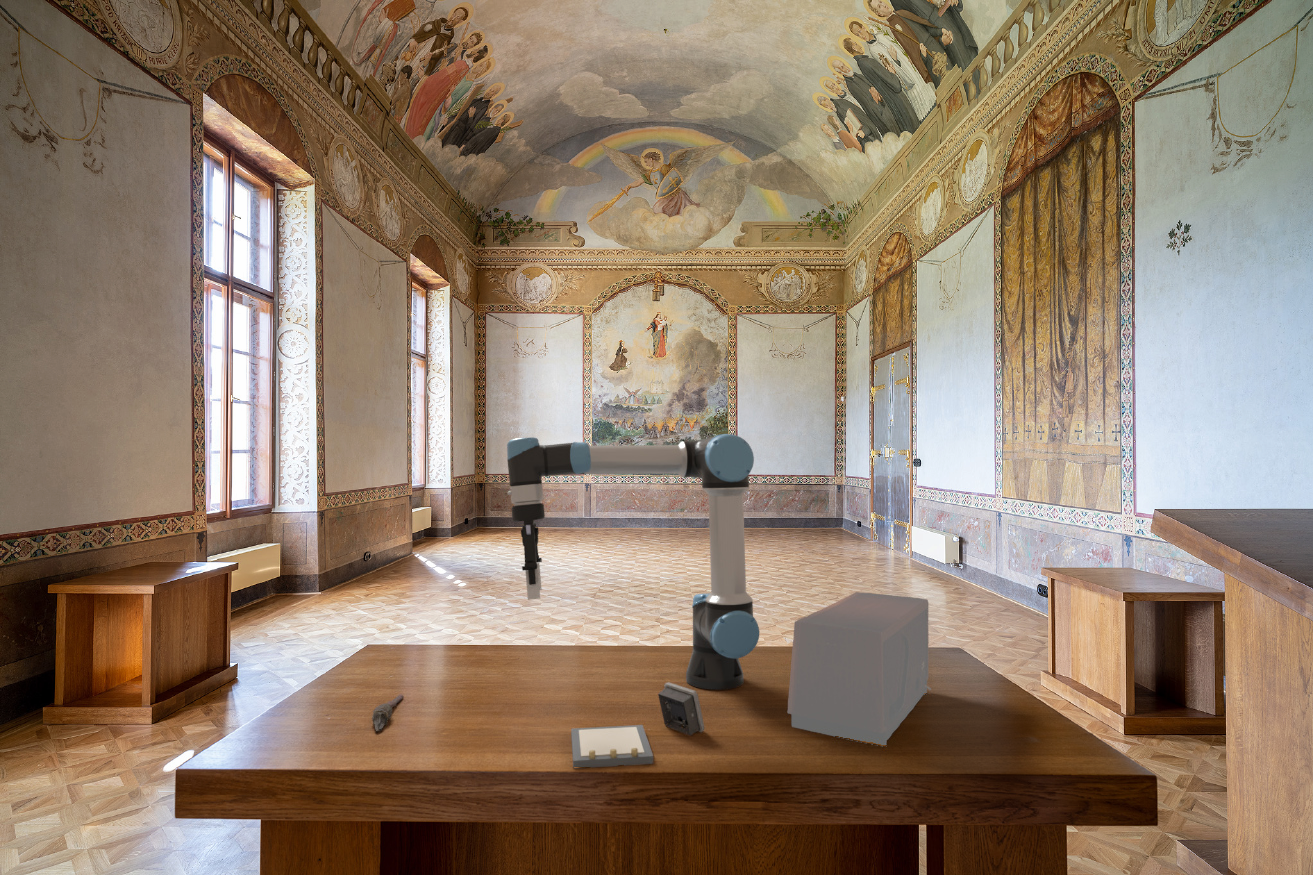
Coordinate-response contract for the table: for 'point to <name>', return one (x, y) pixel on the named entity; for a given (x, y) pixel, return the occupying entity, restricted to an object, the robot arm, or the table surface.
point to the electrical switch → (681, 709)
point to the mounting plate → (610, 746)
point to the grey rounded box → (859, 666)
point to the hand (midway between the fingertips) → (535, 594)
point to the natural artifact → (384, 713)
